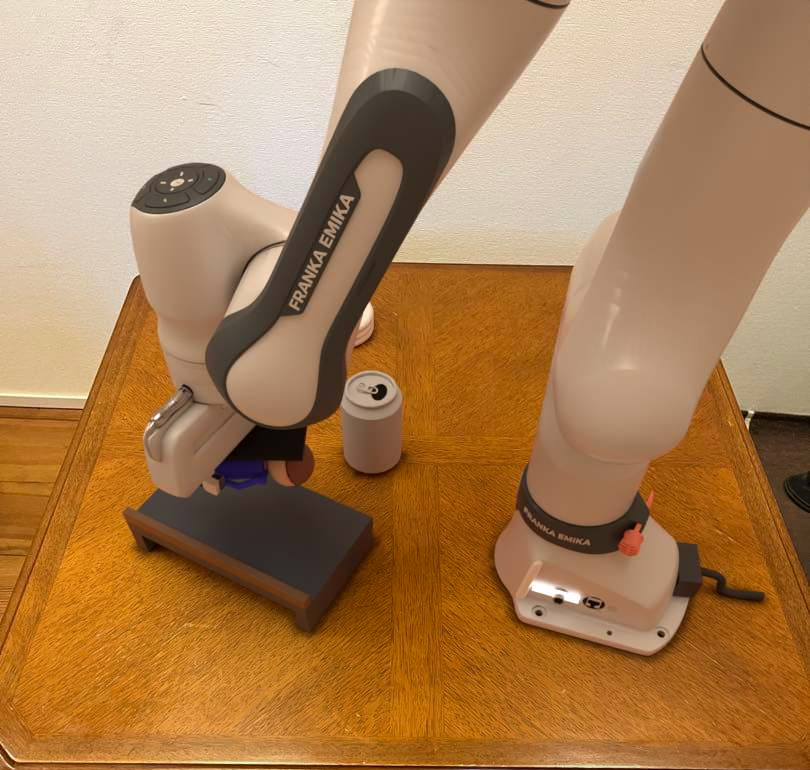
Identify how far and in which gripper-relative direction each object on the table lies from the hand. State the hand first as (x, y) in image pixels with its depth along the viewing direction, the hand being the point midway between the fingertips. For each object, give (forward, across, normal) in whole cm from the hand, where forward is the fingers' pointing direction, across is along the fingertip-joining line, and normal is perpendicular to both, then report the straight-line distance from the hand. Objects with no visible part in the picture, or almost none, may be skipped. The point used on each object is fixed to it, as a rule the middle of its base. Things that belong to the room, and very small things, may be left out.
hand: (241, 460), depth 77 cm
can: (+14, +18, -5) cm, 23 cm away
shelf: (+14, -1, 0) cm, 14 cm away
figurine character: (+3, 0, 0) cm, 3 cm away
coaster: (+14, +38, +12) cm, 42 cm away
